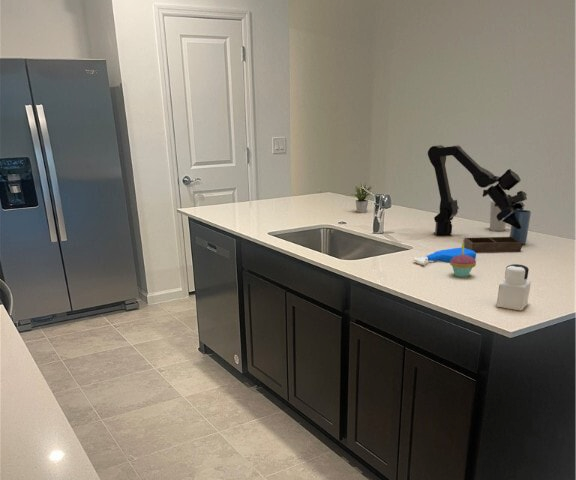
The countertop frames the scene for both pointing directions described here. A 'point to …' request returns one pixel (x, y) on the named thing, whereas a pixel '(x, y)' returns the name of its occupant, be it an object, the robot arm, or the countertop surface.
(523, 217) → the tumbler
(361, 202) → the house plant
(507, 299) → the medicine bottle
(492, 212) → the coffee cup
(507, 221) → the robot arm
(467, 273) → the cupcake
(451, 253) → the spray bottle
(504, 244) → the wooden divided tray
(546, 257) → the countertop surface
